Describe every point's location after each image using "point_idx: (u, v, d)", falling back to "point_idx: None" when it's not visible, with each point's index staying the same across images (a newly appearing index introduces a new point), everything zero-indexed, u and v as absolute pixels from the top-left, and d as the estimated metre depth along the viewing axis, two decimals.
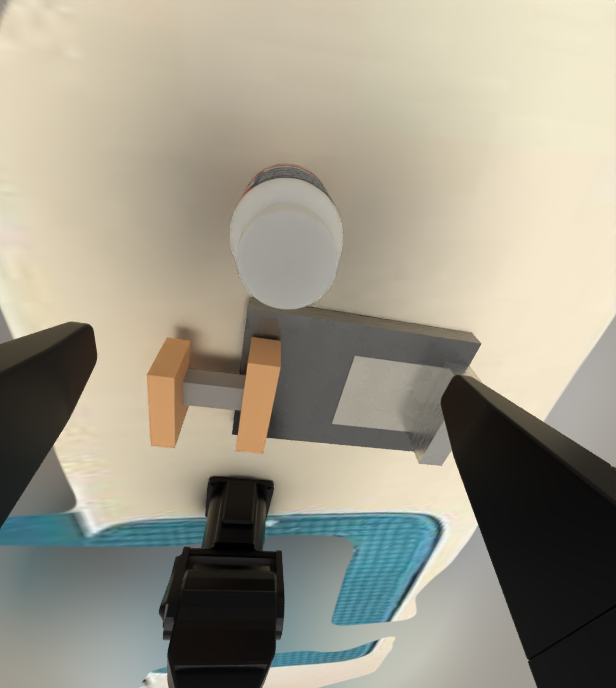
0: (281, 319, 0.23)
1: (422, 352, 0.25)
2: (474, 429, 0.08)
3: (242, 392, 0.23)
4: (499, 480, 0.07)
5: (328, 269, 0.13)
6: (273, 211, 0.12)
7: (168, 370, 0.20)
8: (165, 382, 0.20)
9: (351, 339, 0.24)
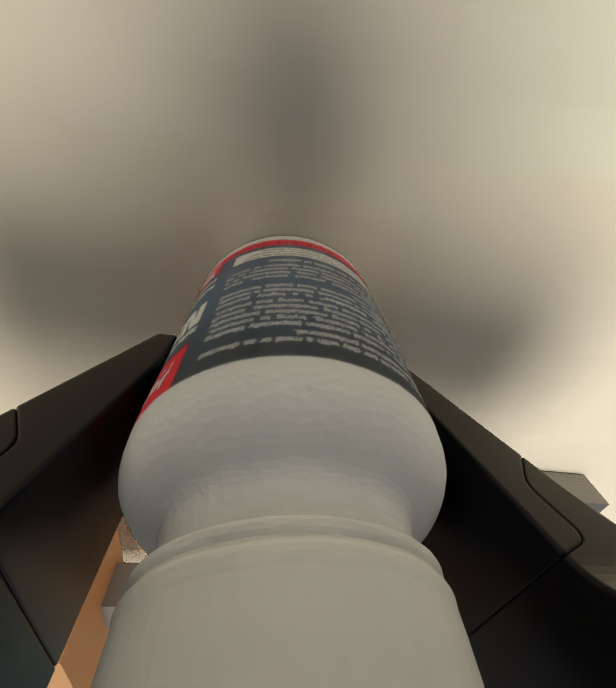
0: None
1: None
2: None
3: None
4: None
5: None
6: (216, 687, 0.02)
7: None
8: None
9: None
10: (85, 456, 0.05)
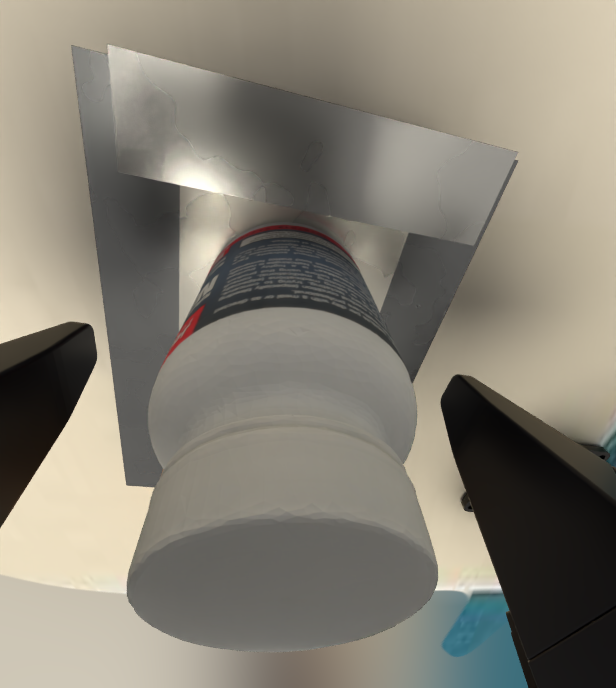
0: (134, 456, 0.16)
1: (146, 230, 0.10)
2: (474, 429, 0.08)
3: None
4: (499, 480, 0.07)
5: (406, 603, 0.05)
6: (237, 503, 0.03)
7: None
8: None
9: (146, 371, 0.13)
10: None
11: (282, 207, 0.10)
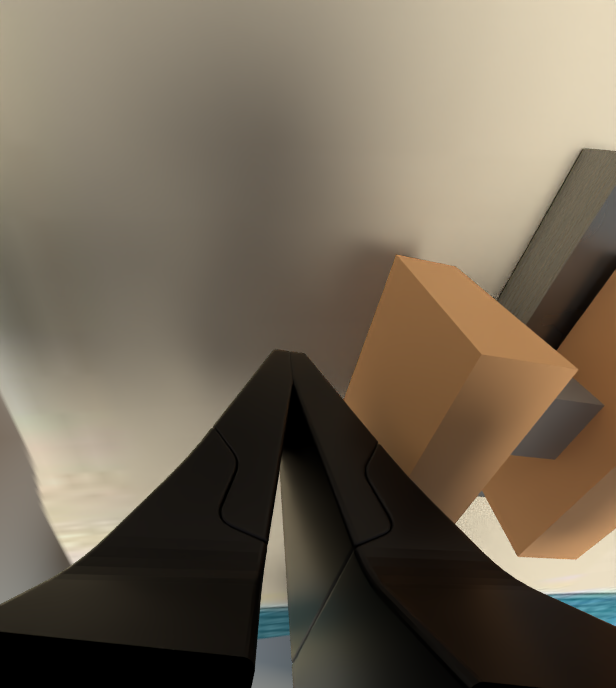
0: None
1: None
2: None
3: (592, 414, 0.08)
4: (291, 463, 0.06)
5: None
6: None
7: (517, 338, 0.05)
8: (530, 389, 0.05)
9: None
10: None
11: None
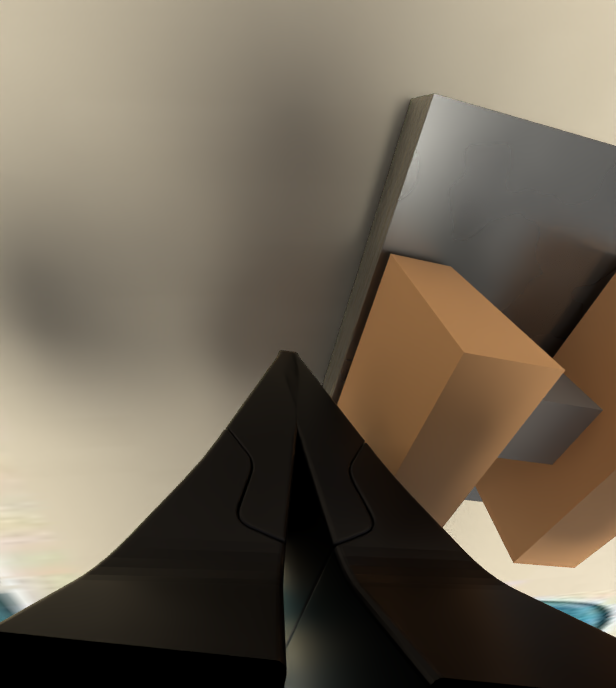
0: (526, 153, 0.07)
1: None
2: None
3: (590, 418, 0.08)
4: None
5: None
6: None
7: (505, 337, 0.05)
8: (517, 389, 0.05)
9: None
10: None
11: None
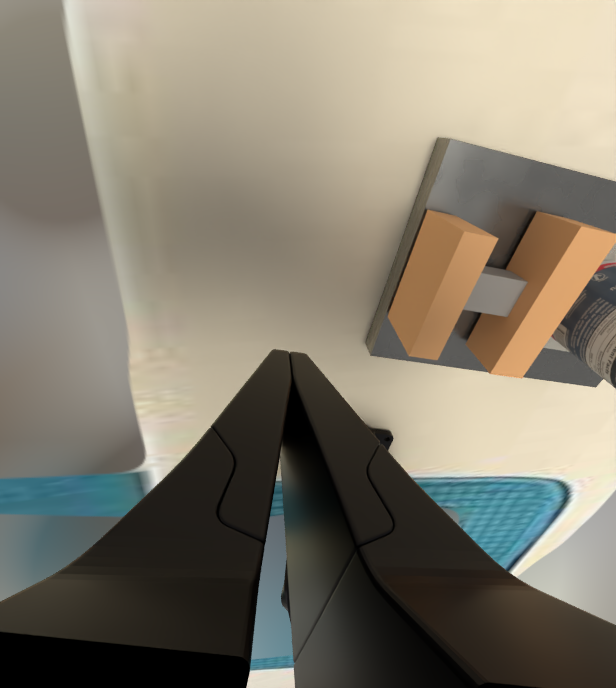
0: (490, 162, 0.16)
1: None
2: (287, 409, 0.07)
3: (522, 287, 0.17)
4: (292, 463, 0.06)
5: None
6: None
7: (478, 231, 0.14)
8: (482, 246, 0.14)
9: (574, 202, 0.17)
10: None
11: None
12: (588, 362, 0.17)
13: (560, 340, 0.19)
